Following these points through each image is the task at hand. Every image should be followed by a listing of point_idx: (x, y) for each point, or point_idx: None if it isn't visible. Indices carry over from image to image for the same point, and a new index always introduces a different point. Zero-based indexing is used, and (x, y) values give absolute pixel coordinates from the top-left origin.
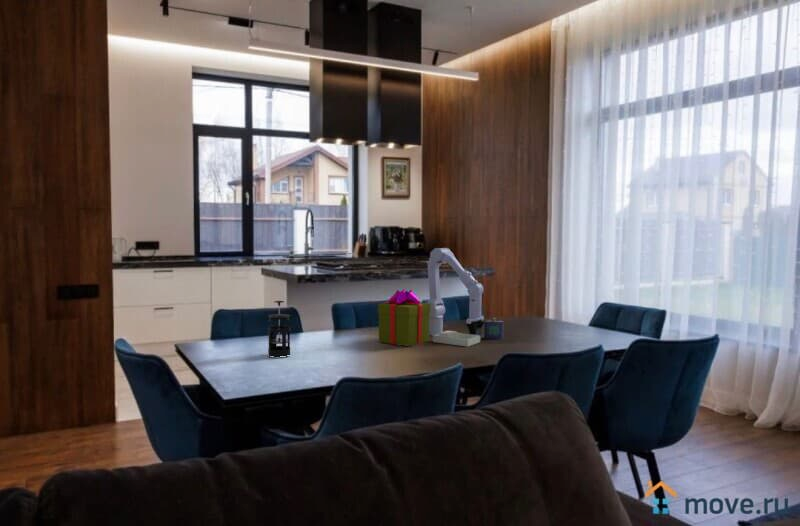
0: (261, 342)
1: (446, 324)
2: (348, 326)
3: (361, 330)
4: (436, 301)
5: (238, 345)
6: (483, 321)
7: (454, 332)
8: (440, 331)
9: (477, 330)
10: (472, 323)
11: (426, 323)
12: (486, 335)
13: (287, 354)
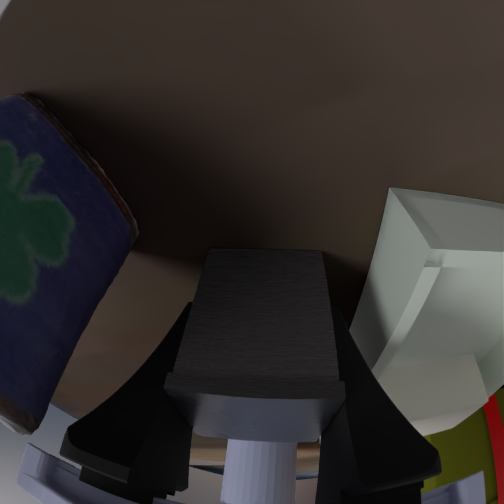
0: None
1: (73, 412)
2: None
3: (310, 473)
4: None
5: None
6: (81, 465)
7: (425, 418)
8: (272, 446)
9: (324, 373)
10: (421, 488)
11: (456, 476)
12: (111, 249)
13: None
